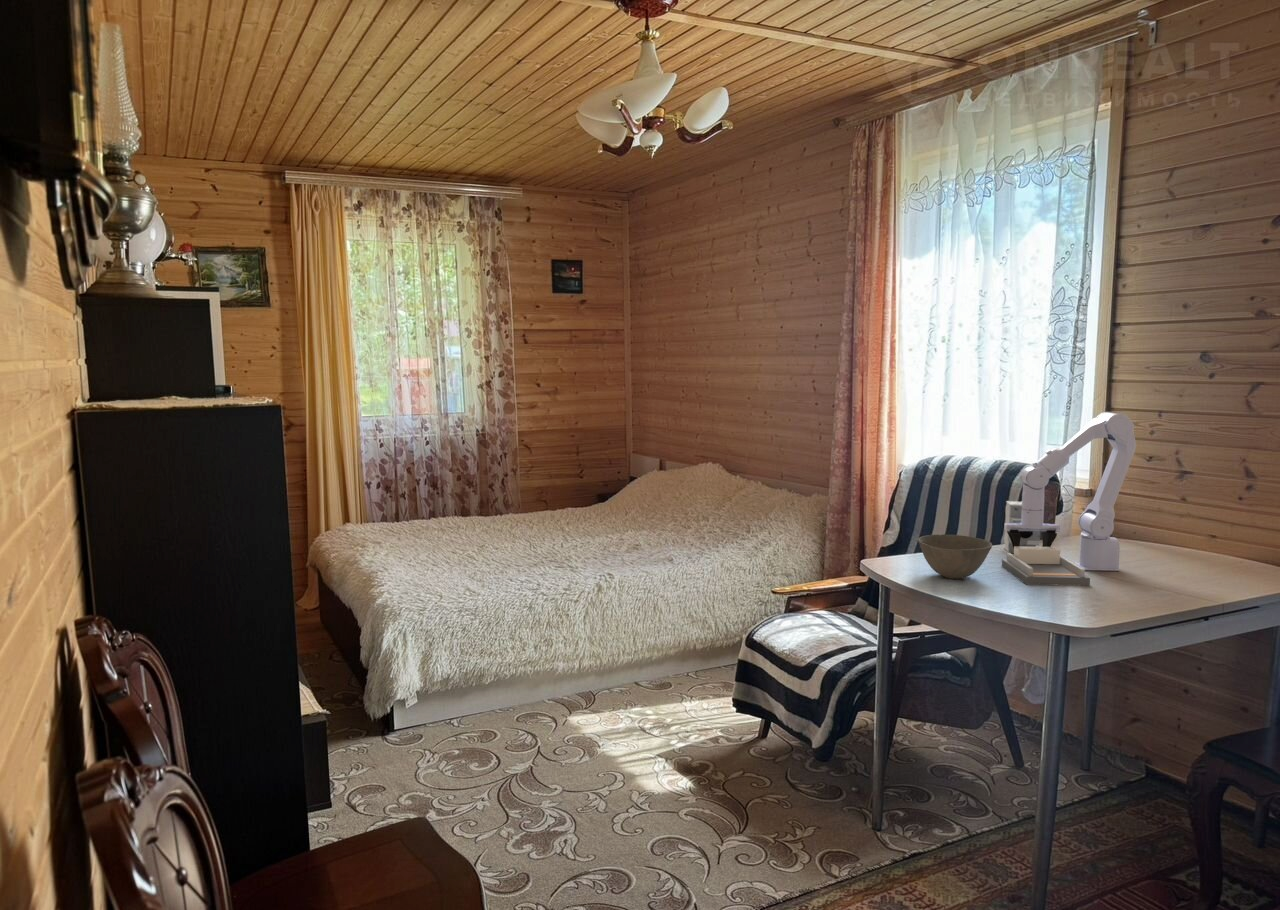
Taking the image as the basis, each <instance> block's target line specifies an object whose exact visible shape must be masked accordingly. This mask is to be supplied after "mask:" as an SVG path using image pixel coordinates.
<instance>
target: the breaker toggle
mask: <svg viewBox="0 0 1280 910" xmlns="http://www.w3.org/2000/svg"><path fill="white" fill-rule="evenodd" d="M1013 555H1014V556H1016V557H1017V558H1019V559H1020V560H1021V561H1023V562H1024V563H1026V564H1060V555H1061V550H1060V549H1059V548H1058V547H1056V546H1051V547H1042V546H1035V547H1022V546H1014V554H1013Z"/></svg>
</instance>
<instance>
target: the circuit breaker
mask: <svg viewBox="0 0 1280 910" xmlns="http://www.w3.org/2000/svg"><path fill="white" fill-rule="evenodd" d="M1005 503H1006V505H1005V512H1004V513H1005V514H1004V515H1005V523H1021V514H1022V500H1021V501H1017V500H1005ZM1004 531H1005V530H1004ZM1018 532H1019V534H1021V539H1020V546H1022V547H1040V542H1041V541H1040V537H1041V531H1018ZM1003 538H1004V540H1003V541H1004V542H1003V544H1004V547H1005V548H1004V550H1005V549H1006V550H1007V551H1006V553H1014V550H1013V545H1012V542H1011V540H1010V537H1009V535H1008V533H1007V531H1005V532H1004V537H1003Z"/></svg>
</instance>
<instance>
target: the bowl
mask: <svg viewBox="0 0 1280 910" xmlns="http://www.w3.org/2000/svg"><path fill="white" fill-rule="evenodd" d="M917 542H918V544H919V547H920V550H921V552H922V555H923V557H924V559H925V561H926V562H927V564H928V565H929V566H930V568H931V569H932V570H933V571H934V572H935V573H936V574H938V575H940V576H941V577H944V578H947V579H953V580H957V579H958V580H961V579H965V578H966V579H967V578H968V577H971V576H972V575H973V574H975V573H976V572H977V571H978V570H979V568H980V567H981V566H982V565H983V564H984V562H985V560H986V558H987V557H988V555H989V553H990V551H991V549H992V547H993V543H992V542H991V541H990V540H989V541H988V540H986V539H983V538H980V537H979V538H978V537H973V536H970V535H969V536H968V535H960V534H945V533H944V534H943V533H942V534H928V535H927V534H926V535H923V536H920V537H918V539H917Z"/></svg>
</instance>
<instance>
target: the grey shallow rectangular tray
mask: <svg viewBox="0 0 1280 910" xmlns="http://www.w3.org/2000/svg"><path fill="white" fill-rule="evenodd" d="M1006 553H1007V554H1006V558H1002V559H1001V567H1002V568H1004V569H1005V570H1006V569H1007V570H1006V571H1008V572H1009V573H1010V572H1011V573H1010V574H1012V575H1015V576H1014V577H1016V578H1017V579H1018V578H1019V579H1018V580H1020V581H1021V582H1022V581H1023V582H1022V583H1024V584H1025V585H1043V584H1058V585H1057V586H1091V577H1090V576H1087V575H1086V570H1085V569H1083V568H1082V567H1080V566H1078V565H1076V564H1075V563H1074V562H1073V561H1071V560H1069V559H1067V558H1066V557H1064V556H1063V555H1061V554H1060V564H1026V563H1024V562H1023V561H1021V560H1020V559H1019V558H1017V557H1016V556H1014V554H1011V553H1008V552H1006Z"/></svg>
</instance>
